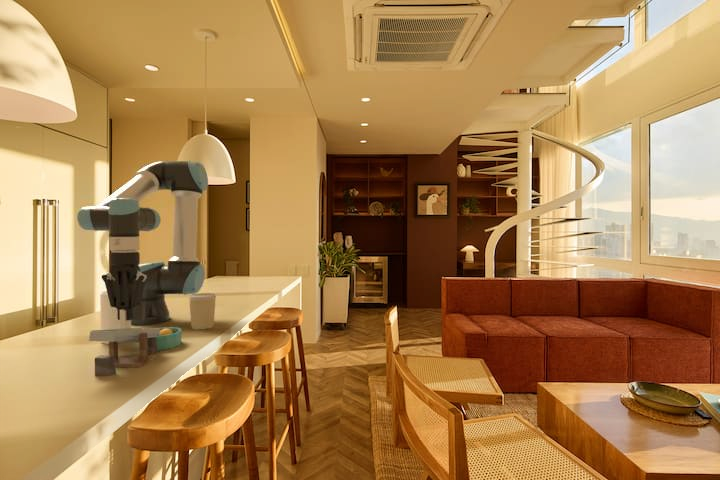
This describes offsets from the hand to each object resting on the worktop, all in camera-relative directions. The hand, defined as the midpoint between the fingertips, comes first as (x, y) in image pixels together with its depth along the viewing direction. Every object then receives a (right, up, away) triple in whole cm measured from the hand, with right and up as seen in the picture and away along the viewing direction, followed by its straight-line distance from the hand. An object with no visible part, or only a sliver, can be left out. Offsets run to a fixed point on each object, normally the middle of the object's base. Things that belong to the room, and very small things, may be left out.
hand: (125, 330), depth 110 cm
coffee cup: (+10, -6, +30) cm, 33 cm away
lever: (+3, -1, -8) cm, 9 cm away
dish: (+6, -6, +8) cm, 12 cm away
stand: (+5, -7, -7) cm, 11 cm away
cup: (-11, -6, +13) cm, 18 cm away
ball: (+7, -4, +10) cm, 13 cm away
